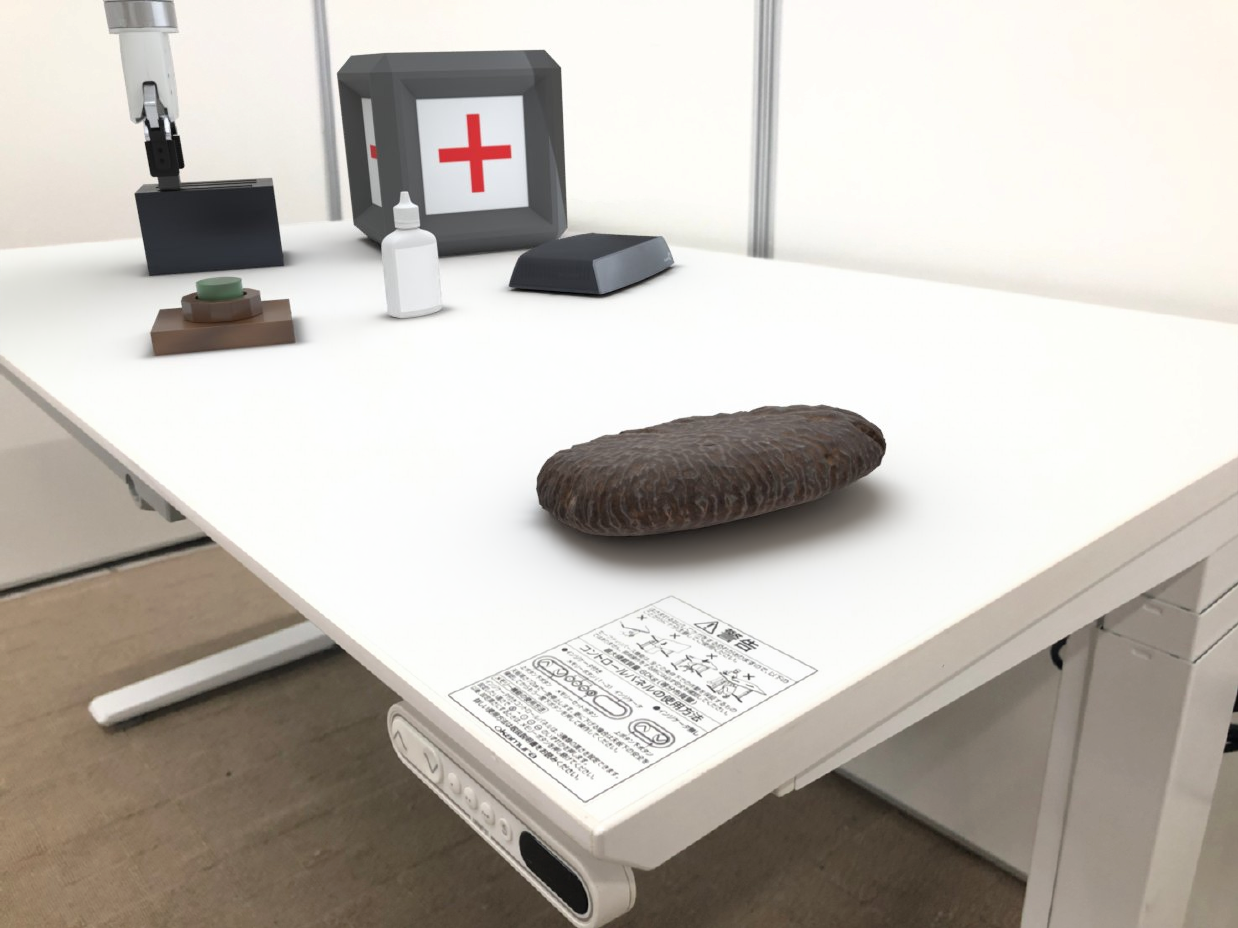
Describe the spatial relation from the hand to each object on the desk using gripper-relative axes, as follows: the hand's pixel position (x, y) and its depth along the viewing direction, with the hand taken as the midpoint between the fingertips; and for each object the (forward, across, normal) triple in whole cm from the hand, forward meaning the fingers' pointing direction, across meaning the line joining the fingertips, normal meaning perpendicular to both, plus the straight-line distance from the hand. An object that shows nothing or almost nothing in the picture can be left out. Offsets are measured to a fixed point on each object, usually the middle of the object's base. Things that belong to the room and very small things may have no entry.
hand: (168, 172), depth 128 cm
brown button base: (+12, +39, +6) cm, 42 cm away
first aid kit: (+12, -8, +36) cm, 39 cm away
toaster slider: (+2, 0, 0) cm, 2 cm away
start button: (+8, +39, +6) cm, 41 cm away
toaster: (+12, -4, +4) cm, 13 cm away
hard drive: (+12, +26, +46) cm, 54 cm away
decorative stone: (+12, +92, +33) cm, 99 cm away
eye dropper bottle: (+12, +36, +24) cm, 45 cm away
